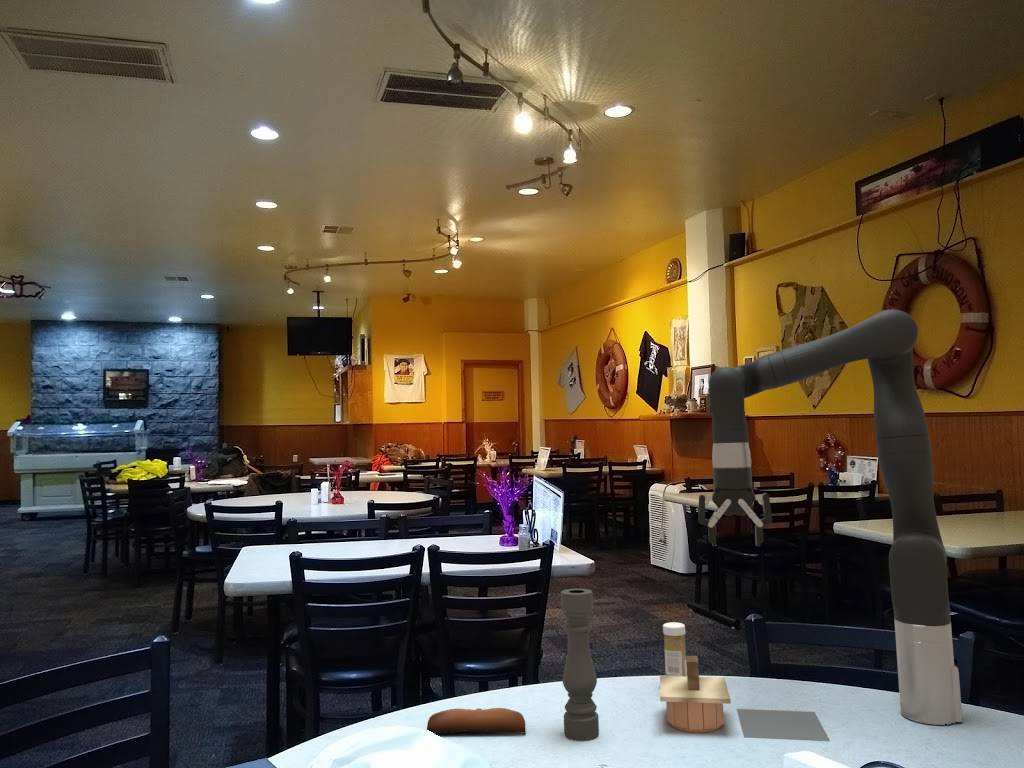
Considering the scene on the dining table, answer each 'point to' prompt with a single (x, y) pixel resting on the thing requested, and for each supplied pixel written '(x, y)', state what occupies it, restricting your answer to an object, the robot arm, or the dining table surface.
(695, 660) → the birch cover
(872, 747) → the dining table surface
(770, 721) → the rubber mat
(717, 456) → the robot arm
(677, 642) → the sprinkles bottle
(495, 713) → the sunglasses case
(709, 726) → the wooden bowl
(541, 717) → the dining table surface
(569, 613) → the candle holder
